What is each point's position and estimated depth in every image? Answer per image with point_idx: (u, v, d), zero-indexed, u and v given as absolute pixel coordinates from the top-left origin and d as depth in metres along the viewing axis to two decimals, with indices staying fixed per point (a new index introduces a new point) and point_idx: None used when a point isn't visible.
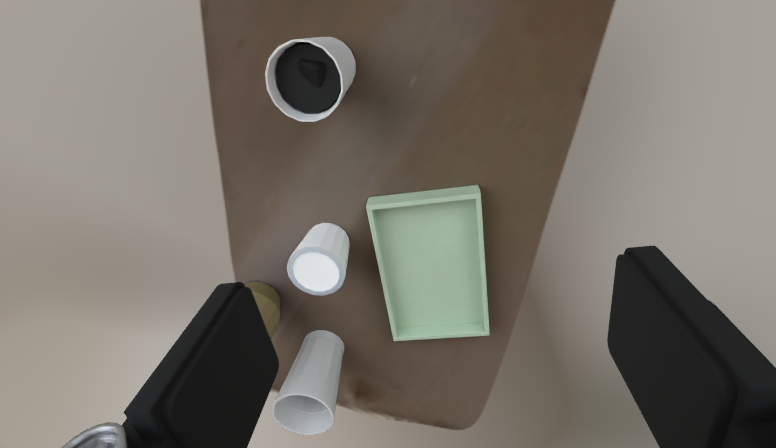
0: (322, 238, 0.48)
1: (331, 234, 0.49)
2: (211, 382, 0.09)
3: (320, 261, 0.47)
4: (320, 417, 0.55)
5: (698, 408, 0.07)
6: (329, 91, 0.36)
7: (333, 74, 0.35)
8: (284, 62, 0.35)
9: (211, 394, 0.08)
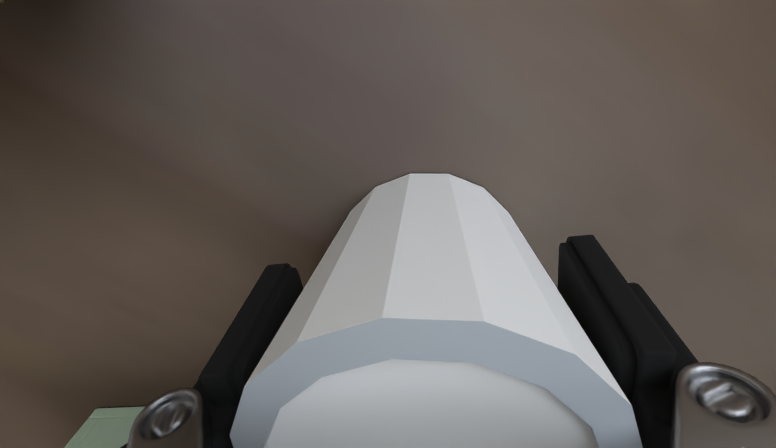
0: None
1: None
2: None
3: None
4: None
5: None
6: None
7: None
8: None
9: None
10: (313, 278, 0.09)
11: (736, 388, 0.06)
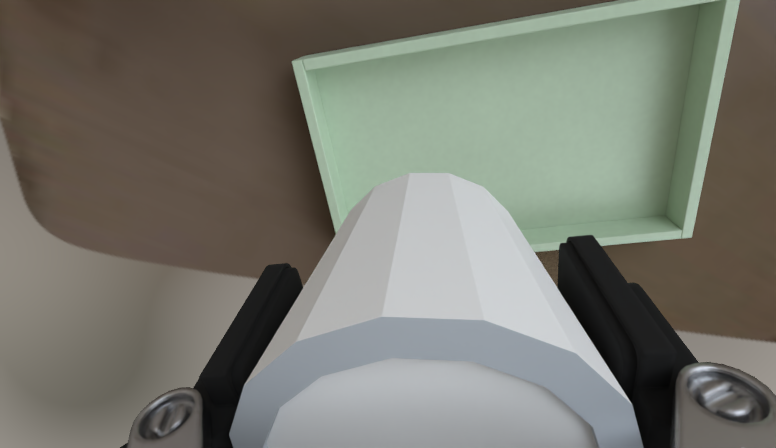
0: None
1: None
2: None
3: None
4: None
5: None
6: None
7: None
8: None
9: None
10: (313, 277, 0.09)
11: (736, 388, 0.06)
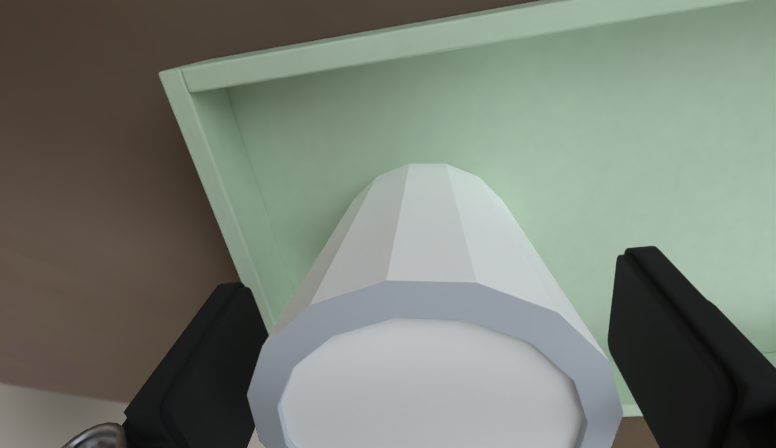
0: None
1: None
2: (211, 382, 0.09)
3: None
4: None
5: (698, 408, 0.07)
6: None
7: None
8: None
9: (211, 394, 0.08)
10: (320, 257, 0.09)
11: None
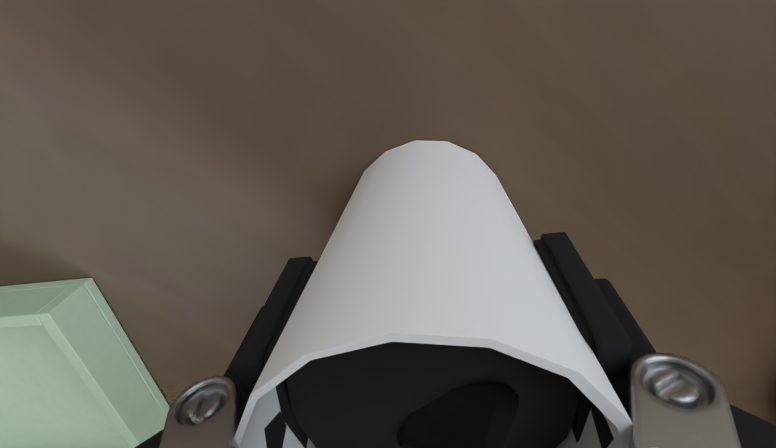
0: None
1: None
2: None
3: None
4: None
5: None
6: None
7: None
8: None
9: None
10: None
11: (684, 375, 0.07)
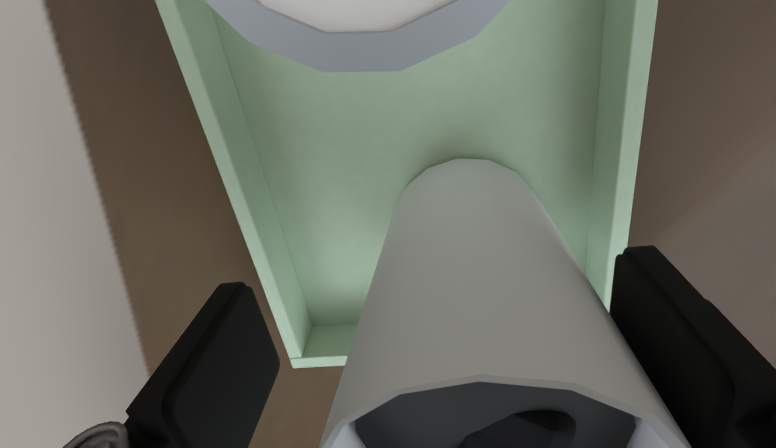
0: None
1: None
2: (212, 381, 0.09)
3: None
4: None
5: (696, 407, 0.07)
6: None
7: None
8: None
9: (212, 393, 0.09)
10: None
11: None
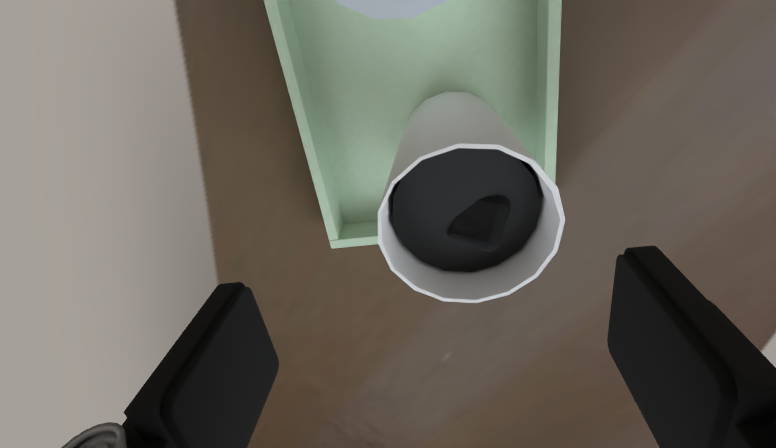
0: None
1: None
2: (211, 382, 0.09)
3: None
4: None
5: (698, 408, 0.07)
6: (438, 250, 0.17)
7: (470, 261, 0.17)
8: (508, 167, 0.15)
9: (211, 394, 0.08)
10: None
11: None
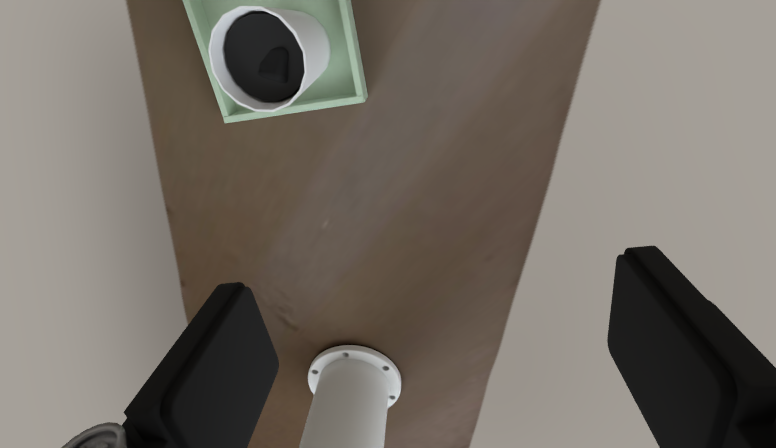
0: None
1: None
2: (211, 382, 0.09)
3: None
4: None
5: (698, 408, 0.07)
6: (256, 86, 0.29)
7: (275, 92, 0.29)
8: (281, 28, 0.27)
9: (211, 394, 0.08)
10: None
11: None
